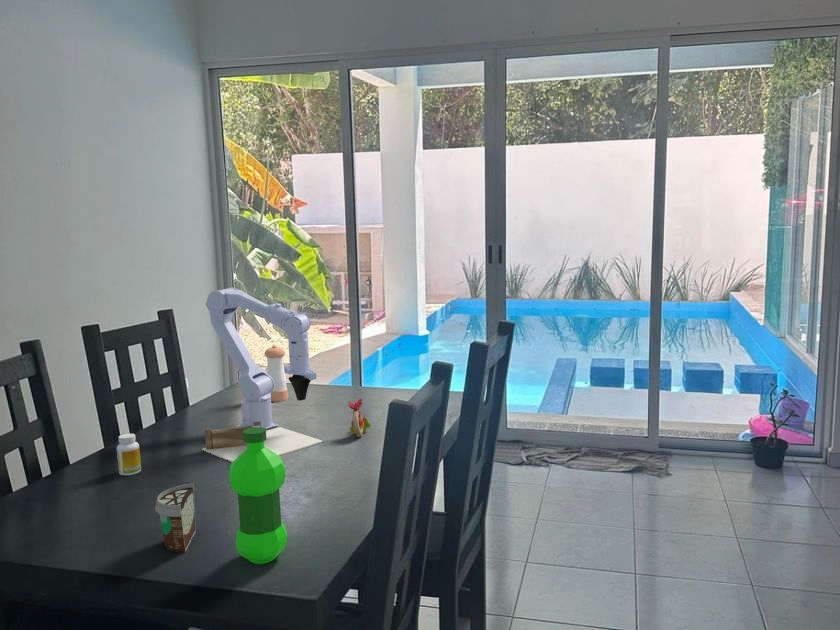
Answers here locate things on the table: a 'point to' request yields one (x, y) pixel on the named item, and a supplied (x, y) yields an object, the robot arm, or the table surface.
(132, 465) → the supplement bottle
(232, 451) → the board
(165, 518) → the food container
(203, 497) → the table surface
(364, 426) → the bird rattle
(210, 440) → the bar
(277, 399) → the pepper shaker
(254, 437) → the plastic bottle
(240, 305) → the robot arm
